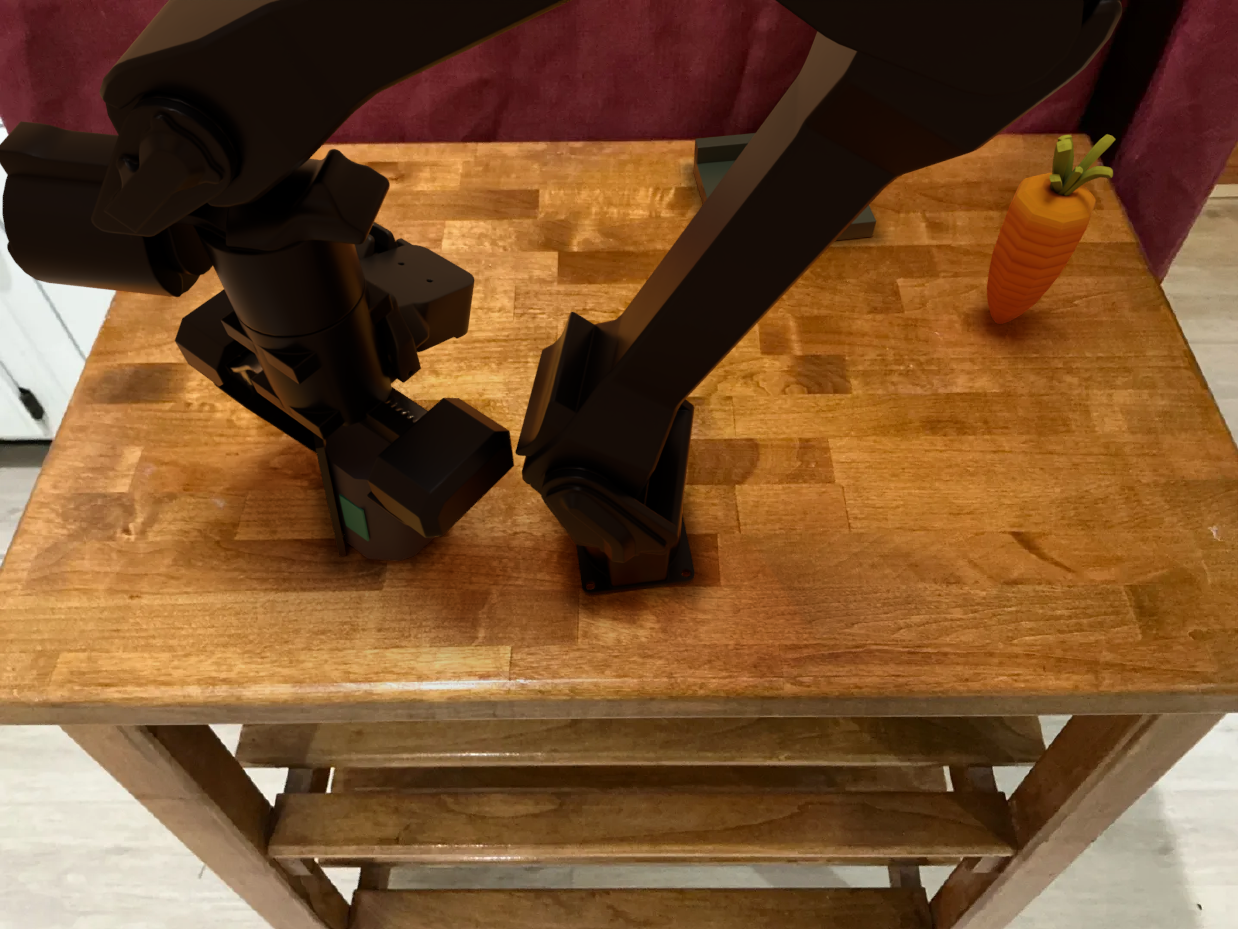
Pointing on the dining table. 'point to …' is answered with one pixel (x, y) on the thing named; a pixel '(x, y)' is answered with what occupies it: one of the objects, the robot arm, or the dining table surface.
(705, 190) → the dark grey square base
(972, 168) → the dining table surface
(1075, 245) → the carrot
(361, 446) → the speaker
